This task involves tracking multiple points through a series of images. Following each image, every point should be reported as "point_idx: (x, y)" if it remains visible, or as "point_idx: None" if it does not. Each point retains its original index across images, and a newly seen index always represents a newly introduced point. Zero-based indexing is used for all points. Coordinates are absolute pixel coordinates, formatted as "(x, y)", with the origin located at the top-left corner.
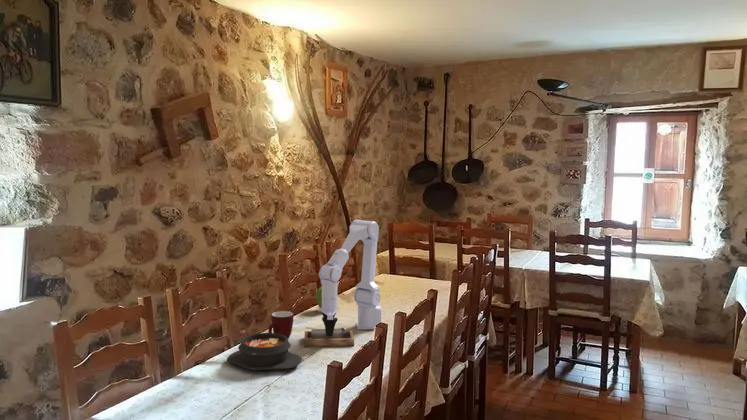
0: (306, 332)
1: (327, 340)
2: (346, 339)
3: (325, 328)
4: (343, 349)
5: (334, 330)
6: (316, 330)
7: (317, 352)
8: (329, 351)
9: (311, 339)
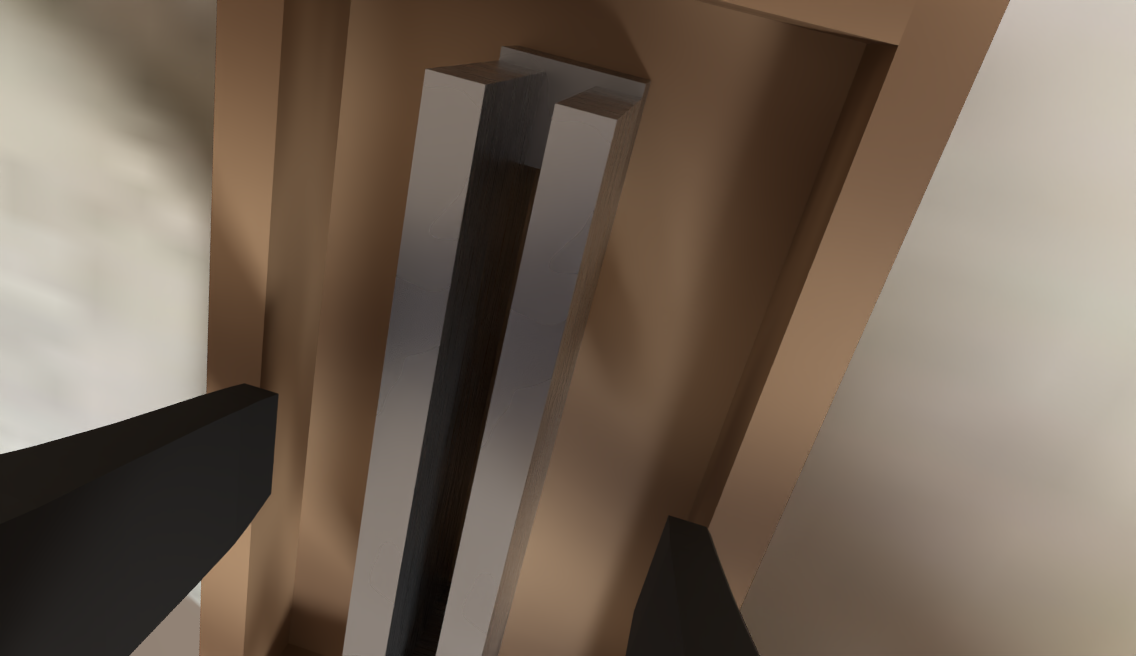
0: (865, 5)
1: (216, 347)
2: (203, 637)
3: (27, 448)
4: None
5: (367, 630)
6: (522, 257)
7: (38, 49)
8: (82, 264)
9: (259, 6)
